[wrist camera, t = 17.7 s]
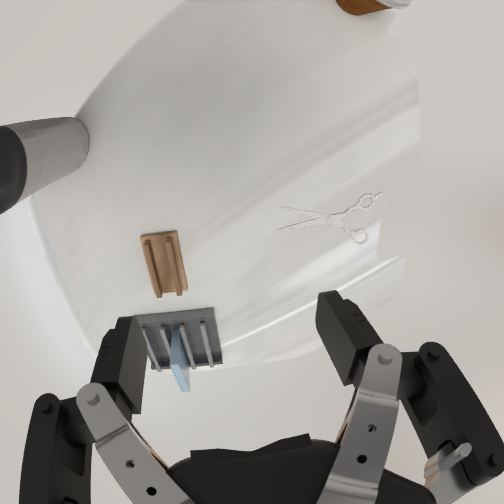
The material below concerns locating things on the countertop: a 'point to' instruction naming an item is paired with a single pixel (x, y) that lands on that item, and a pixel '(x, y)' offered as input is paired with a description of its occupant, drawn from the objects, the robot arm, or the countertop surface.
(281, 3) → the countertop surface
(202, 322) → the dish rack
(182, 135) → the countertop surface
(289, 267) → the countertop surface
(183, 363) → the plate
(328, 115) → the countertop surface
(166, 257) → the plate stand
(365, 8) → the disposable coffee cup
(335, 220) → the scissors
